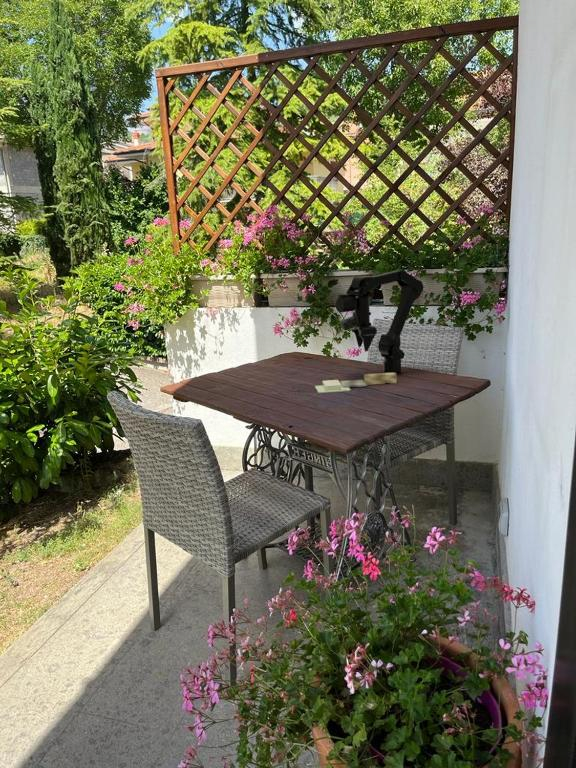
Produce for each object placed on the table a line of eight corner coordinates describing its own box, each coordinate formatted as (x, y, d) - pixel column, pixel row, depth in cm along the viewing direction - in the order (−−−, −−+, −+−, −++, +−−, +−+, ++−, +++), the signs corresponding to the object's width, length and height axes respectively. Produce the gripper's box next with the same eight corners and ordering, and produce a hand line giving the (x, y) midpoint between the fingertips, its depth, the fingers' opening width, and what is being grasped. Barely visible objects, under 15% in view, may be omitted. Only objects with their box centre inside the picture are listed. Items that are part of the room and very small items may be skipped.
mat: (345, 384, 217) (345, 383, 217) (350, 390, 209) (350, 389, 209) (315, 386, 216) (315, 385, 216) (318, 393, 208) (318, 392, 208)
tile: (337, 379, 217) (341, 385, 210) (337, 383, 218) (341, 389, 210) (322, 380, 217) (325, 386, 209) (322, 384, 217) (325, 390, 210)
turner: (393, 379, 221) (393, 371, 220) (398, 384, 214) (398, 375, 213) (339, 382, 219) (339, 374, 218) (343, 387, 212) (343, 378, 211)
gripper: (336, 308, 226) (337, 346, 230) (347, 314, 208) (349, 355, 212) (363, 305, 227) (363, 344, 232) (376, 312, 210) (377, 353, 214)
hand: (362, 349), depth 222 cm, fingers open, 9 cm apart
